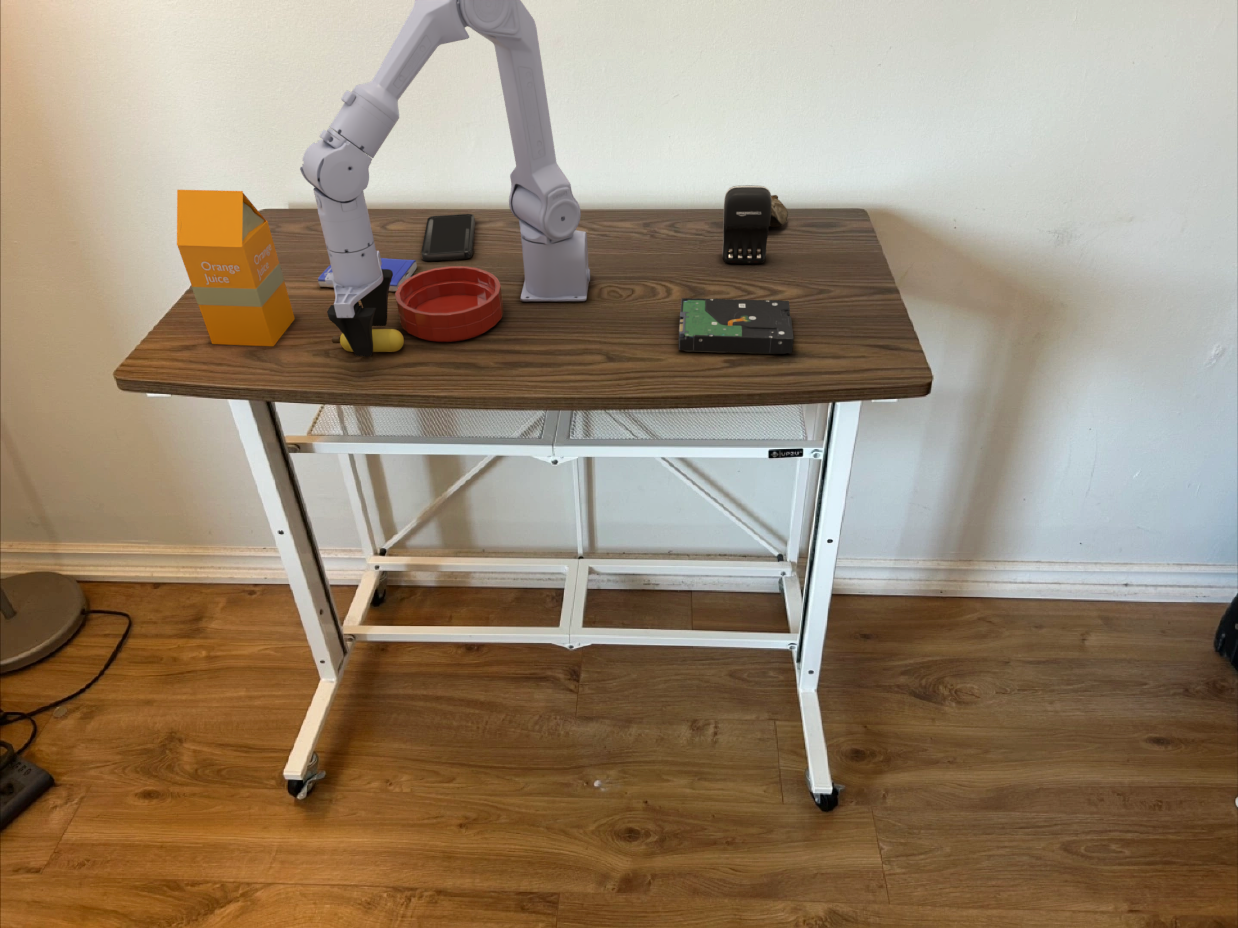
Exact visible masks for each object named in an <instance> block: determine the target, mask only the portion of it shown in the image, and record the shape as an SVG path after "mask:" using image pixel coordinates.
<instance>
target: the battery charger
mask: <svg viewBox="0 0 1238 928" xmlns="http://www.w3.org/2000/svg"><path fill="white" fill-rule="evenodd" d="M771 195H772V194H771V190H770V189H769V188H768V187H766V186H764V185H753V184H752V185H748V184H747V185H732V186H731V187H729V188H728V189H727V190H726V192H725V195H724V200H723V210H722V211H723V213H722V214H723V215H722V249H721V257H722V260H723V261H724V262H725V263H727V264H734V265H735V264H736V265H737V264H738V265H739V264H740V265H741V264H742V265H744V264H745V265H750V264H751V265H753V264H754V265H755V264H763V263H764V262H765V261H766V257H767V245H768V244H767V243H768V236H769V229H770V227H771V226H770V220H771V205H772V202H771Z"/></svg>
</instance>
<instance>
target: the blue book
mask: <svg viewBox="0 0 1238 928" xmlns="http://www.w3.org/2000/svg"><path fill="white" fill-rule="evenodd" d="M381 262H382V265H381V269H389V270H391V271H392V272H393V276H392V279H391V283H390V287H389V292H396V291H397V289H398V287H399V285H400V284H402V283H403V282H404V281H405V280H406V279H408V278H410V277H412V276H413V274H414V273H415V272H416V271H417V268H418V265H417V260H416V259H400V258H385V257H381ZM328 273H332V268H331V264H329V265H328V267H326V268H325V269H324V271H322V273H321V274H320V275H319V276H318V277H317V283H318V286H319V287H322V288H334V285H332V284H326V282H325V278H326V276H327V274H328Z"/></svg>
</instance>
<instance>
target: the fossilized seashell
mask: <svg viewBox="0 0 1238 928" xmlns="http://www.w3.org/2000/svg"><path fill="white" fill-rule="evenodd" d="M771 202H772V205H771V220H770V226H769V227H772V228H779V227H782V226H784V225H785V224H786V223H788V217H789V211H788V209H787V207H786V206H785V205H784V203H782V201H781V200H780V199H779V196H778V195H777V194H771Z"/></svg>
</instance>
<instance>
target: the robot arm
mask: <svg viewBox="0 0 1238 928" xmlns="http://www.w3.org/2000/svg"><path fill="white" fill-rule="evenodd" d="M466 28H470V29H471V30H472V31H474V32H476V33H477V34H479V35H481V36H482V37H484V38H485V39H487V40H488V41H489V42H491V43H492V44H493V46H494V51H495V56H496V63H497V68H498V73H499V78H500V85H501V89H502V95H503V101H504V106H505V107H504V108H505V111H506V116H507V124H508V128H509V134H510V139H511V145H512V150H513V155H514V156H513V157H514V162H515V168H513V170H512V171H511V173H510V174H509V178H510V184H511V185H510V186H511V187H510V193H509V197H508V207H509V209H510V212H511V213H512V215H513V216H514V217H515V218H516V219H518V224H519V225H518V226H519V229H520V241H521V251H522V261H523V272H524V273H523V274H524V282H523V285H522V289H521V294H520V301H521V302H585V301H587V298H588V292H589V291H588V290H589V282H590V281H591V269H590V268H589V246H588V245H589V244H588V233H587V232H586V231H585V230H577V228H578V226H579V224H580V222H581V216H582V215H581V214H582V212H581V207H580V203H579V202H578V201H577V199H576V197H575V196H574V194H573V191H572V185H571V182H570V181H569V179H568V178H567V176H566V175H565V173H564V172H563V170H562V169H561V167H560V166H559V164H558V163H557V162H558V161H557V157H556V151H555V143H554V136H553V129H552V123H551V116H550V109H549V103H548V95H547V89H546V83H545V76H544V70H543V63H542V56H541V48H540V42H539V34H538V29H537V24H536V21H535V19H534V18H533V15H532V14H531V13H530V12H529V9H527V7H526V6H525V5H524V3H523V1H522V0H414V2H413V5H412V8H411V11H410V12H409V14H408V16H407V18H406V20H405V21H404V23H403V25H402V27H401V28H400V30H399V32H398V34H397V36H396V37H395V39H394V40H393V43H392V44H391V46H390V48H389V50H388V51H387V53H386V55H385V56H384V59H383V60H382V62H381V64H380V66H379V68H378V70H377V71H376V72H375V74H374V77H372V80H371V81H368V82H363V83H357V84H355V85H354V87H353V88H352V91H349V90H347V89H346V90H345V92H344V93H343V94H342V96H341V99H340V100H341V102H343V104H342V105H341V107H340V109H339V110H338V112H337V114H336V116H334V119H333V120H332V121H331V122H330V124H329V126H328V128H327V129H322V131H321V133H319V138H320V139H319V140H318V139H317V142H312V143H311V144H310V145H309V146H308V147H306V149H305V151H304V153H303V155H302V162H303V163H302V164H301V166H300V167H299V170H300V174H301V175H302V177H303V178H304V180H305V181H306V182H307V183H308V184H310V185H311V186H313V189H312V190H313V195H314V198H315V202H316V207H317V213H318V218H319V222H320V226H321V230H322V235H323V238H324V243H325V247H326V251H327V255H328V259H329V263H330V264H329V265H331V268H332V273H328V274H327V276H326V278H325V282H326V284H332V285H334V287H333V290H334V296H335V299H334V302H333V304H331V305H329V307H328V309H327V311H326V313H327V317H328V320H329V321H330V322H332V324H334V325H335V326H336V327H337V328H338V330H339V331H340V332H341V334H342V333H343V334H344V336H345V338H346V339H347V341H348V343H349V345H350V346H351V348H352V350H353V352H352V353H353V354H354V356H355V357H372V356H373V353H374V352H373V337H372V329H373V327H386V326H387V324H388V303H389V292H390V291H389V287H390V283H391V279H392V276H393V272H392V271H391V270H389V269H381V265H382V262H381V258H382V257H381V253H380V250H377V248H376V243H375V238H374V233H373V228H372V225H371V224H372V223H371V218H370V214H369V209H368V205H367V201H366V197H365V192H364V191H365V190H366V189H367V188H368V185H369V182H370V171H369V168H370V165H371V164H372V161H373V159H374V158H375V156H376V155H377V153H378V151H379V150H380V149H381V147H382V146H383V144H384V143H385V141H386V139H387V138H388V137H389V135H390V133H391V132H392V130H393V129H394V127H395V126H396V124H397V122H399V119H400V110H399V99H400V98H402V95H403V94H404V93H405V92H406V91H407V89H408V88H409V86H410V85H411V84H412V82H413V81H414V80H415V78H416V77H417V75H418V74H419V73H420V71H421V70H422V69H423V67H424V66H425V64H426V63H427V62H428V61H429V59H430V58H431V56H432V55H433V54H434V52H436V50H437V49H438V47H440V46H441V45H445V44H450V43H455V42H460V41H464V40H468V39H469V38H470V35H469V33H468V31H467V29H466ZM360 303H361V304H360Z"/></svg>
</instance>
